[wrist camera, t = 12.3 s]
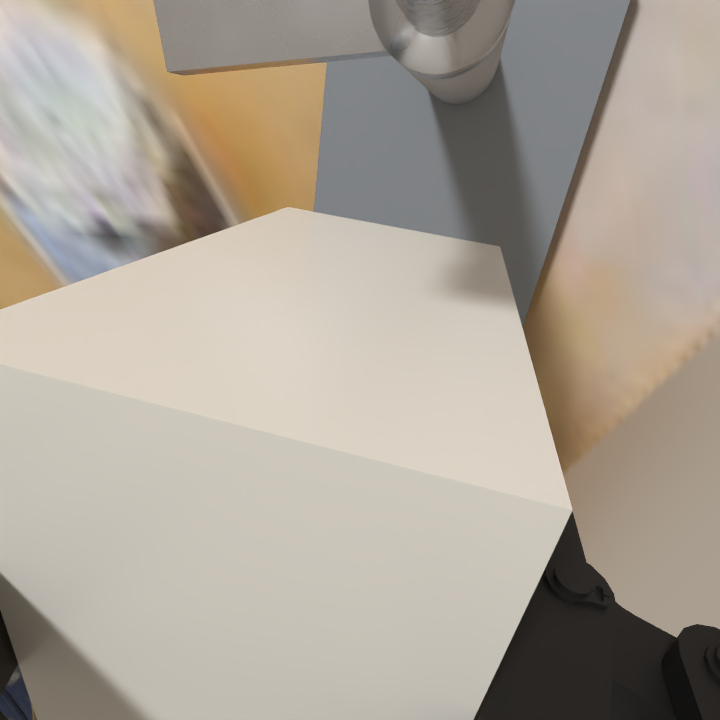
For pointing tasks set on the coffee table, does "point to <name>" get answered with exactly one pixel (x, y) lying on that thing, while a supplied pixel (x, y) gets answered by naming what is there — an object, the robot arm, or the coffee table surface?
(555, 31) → the gray post stand
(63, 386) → the white block
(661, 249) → the coffee table surface
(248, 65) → the multicoloured piece
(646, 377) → the coffee table surface
